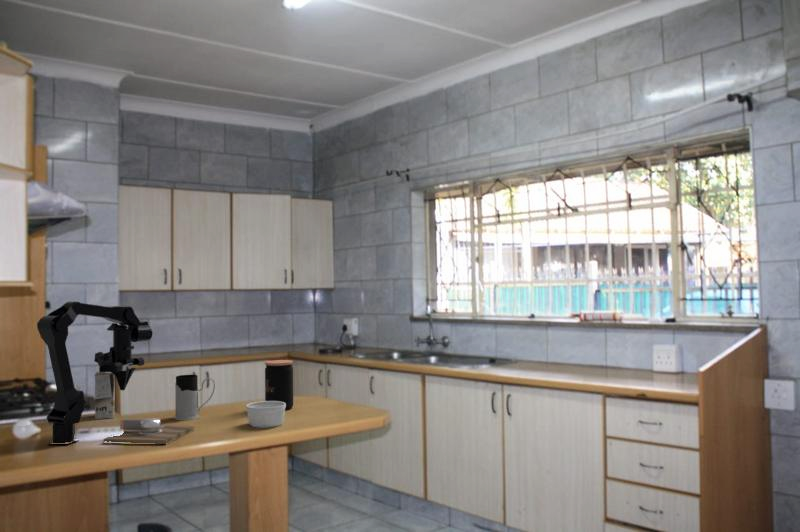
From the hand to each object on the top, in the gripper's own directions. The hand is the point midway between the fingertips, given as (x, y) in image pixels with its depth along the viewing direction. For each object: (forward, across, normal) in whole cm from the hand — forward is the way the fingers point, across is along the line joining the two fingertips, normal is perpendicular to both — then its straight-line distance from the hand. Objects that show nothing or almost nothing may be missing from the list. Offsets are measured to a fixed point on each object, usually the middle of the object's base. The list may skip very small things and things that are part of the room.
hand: (122, 390), depth 230 cm
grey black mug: (+13, -21, +16) cm, 30 cm away
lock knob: (+11, +10, +12) cm, 19 cm away
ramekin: (+13, -11, +46) cm, 49 cm away
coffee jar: (+13, -39, +42) cm, 59 cm away
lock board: (+13, +10, +15) cm, 22 cm away
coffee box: (+13, -20, -18) cm, 30 cm away
